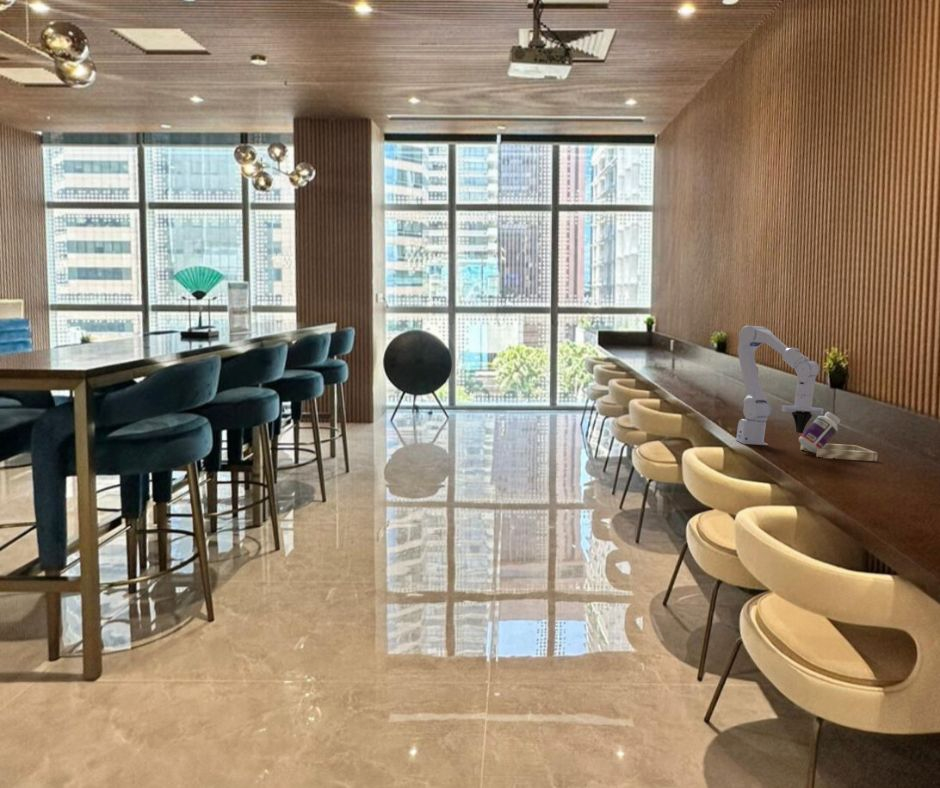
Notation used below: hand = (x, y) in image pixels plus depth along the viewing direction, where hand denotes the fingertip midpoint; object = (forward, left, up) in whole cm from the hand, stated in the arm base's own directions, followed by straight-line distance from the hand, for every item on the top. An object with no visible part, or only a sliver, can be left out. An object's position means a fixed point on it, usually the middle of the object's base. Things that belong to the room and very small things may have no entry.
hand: (799, 432), depth 280 cm
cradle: (+14, 0, -7) cm, 16 cm away
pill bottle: (+3, 0, -5) cm, 6 cm away
